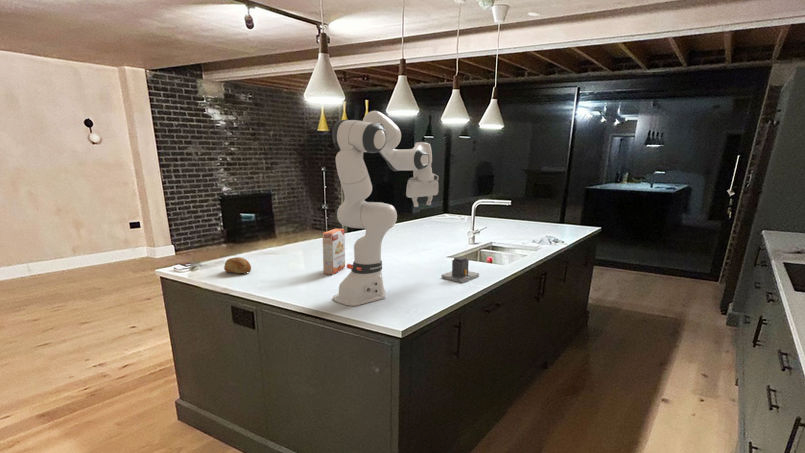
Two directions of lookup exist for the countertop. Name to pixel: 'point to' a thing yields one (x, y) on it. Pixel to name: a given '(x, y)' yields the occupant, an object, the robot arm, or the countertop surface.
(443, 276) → the hub plate
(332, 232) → the cracker box
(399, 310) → the countertop surface
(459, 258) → the dark grey block
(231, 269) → the bread roll
